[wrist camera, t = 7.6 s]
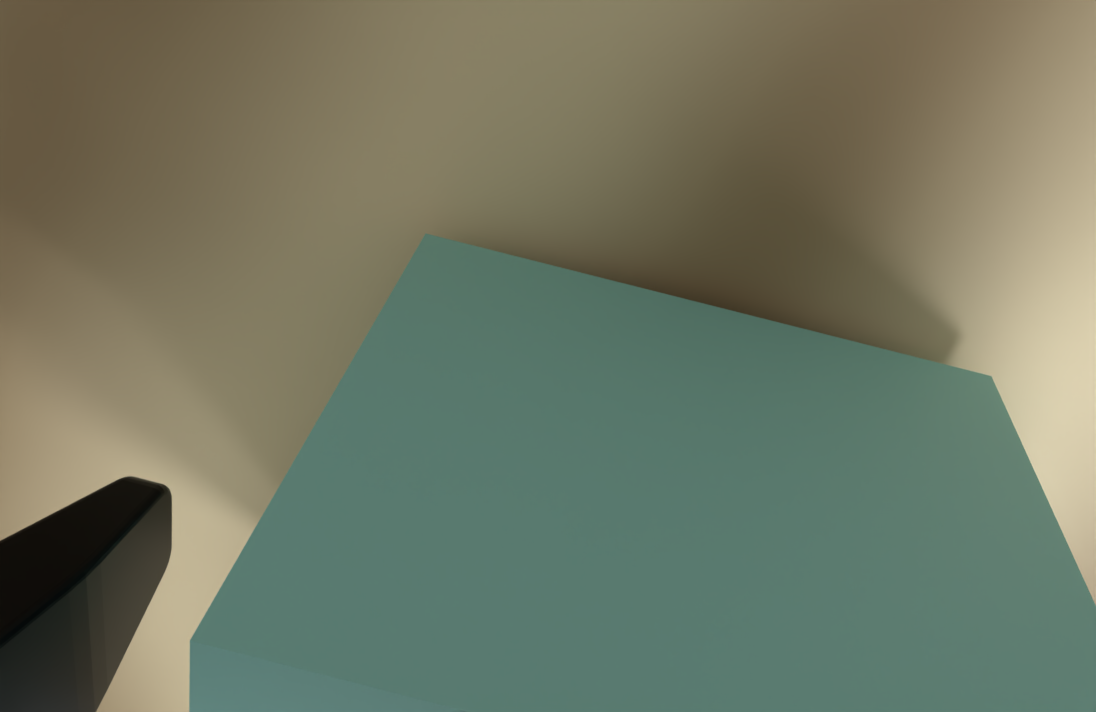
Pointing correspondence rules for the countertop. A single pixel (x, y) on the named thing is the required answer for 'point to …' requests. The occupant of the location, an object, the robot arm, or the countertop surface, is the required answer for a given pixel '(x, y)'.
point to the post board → (509, 217)
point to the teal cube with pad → (644, 521)
